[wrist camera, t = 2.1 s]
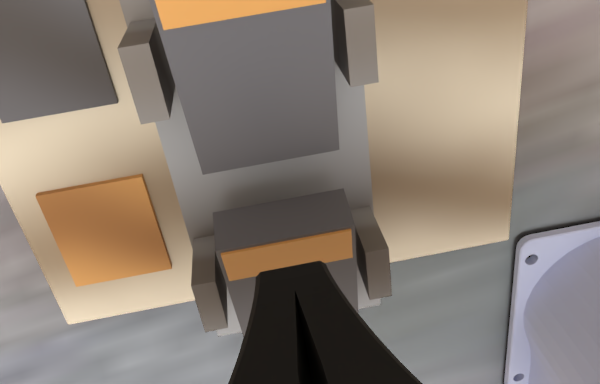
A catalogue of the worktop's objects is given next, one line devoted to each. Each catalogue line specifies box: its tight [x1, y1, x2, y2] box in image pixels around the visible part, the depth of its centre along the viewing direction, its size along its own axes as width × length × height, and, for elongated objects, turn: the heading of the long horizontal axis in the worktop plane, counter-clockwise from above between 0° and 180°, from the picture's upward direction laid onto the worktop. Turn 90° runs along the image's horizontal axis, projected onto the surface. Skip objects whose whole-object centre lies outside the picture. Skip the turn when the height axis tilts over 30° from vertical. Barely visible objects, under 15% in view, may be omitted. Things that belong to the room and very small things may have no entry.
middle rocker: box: [149, 0, 339, 175], centre depth 12 cm, size 5×3×1 cm
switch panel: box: [0, 0, 528, 337], centre depth 14 cm, size 19×16×6 cm
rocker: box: [213, 188, 358, 337], centre depth 15 cm, size 5×3×1 cm
